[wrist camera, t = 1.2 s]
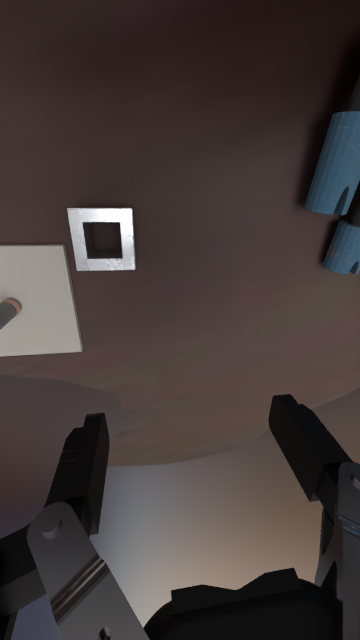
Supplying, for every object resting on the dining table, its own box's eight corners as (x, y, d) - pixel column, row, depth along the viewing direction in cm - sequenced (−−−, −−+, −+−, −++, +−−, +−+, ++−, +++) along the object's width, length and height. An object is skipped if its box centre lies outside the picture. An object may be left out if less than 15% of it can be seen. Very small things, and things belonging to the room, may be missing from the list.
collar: (77, 206, 28) (67, 208, 24) (132, 207, 29) (131, 208, 25) (85, 261, 31) (77, 270, 27) (136, 260, 32) (135, 269, 28)
